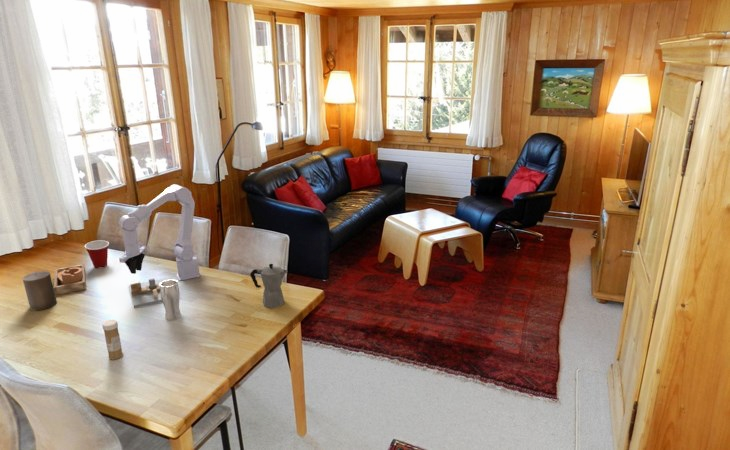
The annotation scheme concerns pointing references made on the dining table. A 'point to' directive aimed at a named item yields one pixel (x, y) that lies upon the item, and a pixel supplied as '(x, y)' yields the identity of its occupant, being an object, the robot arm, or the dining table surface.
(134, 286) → the brown wooden blocky piece
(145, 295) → the base board
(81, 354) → the dining table surface
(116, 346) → the sprinkles bottle
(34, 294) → the pillar candle
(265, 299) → the coffeepot
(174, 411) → the dining table surface
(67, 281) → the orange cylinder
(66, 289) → the parts corral
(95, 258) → the plastic cup
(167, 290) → the beer glass
